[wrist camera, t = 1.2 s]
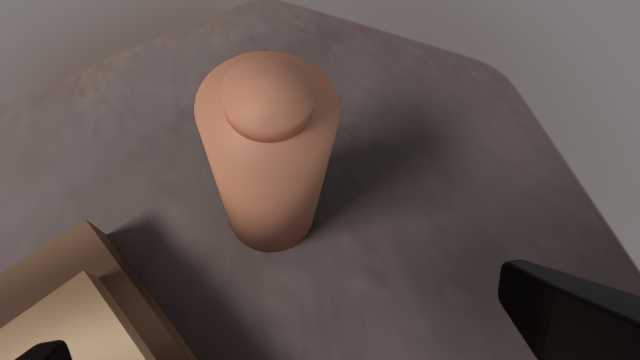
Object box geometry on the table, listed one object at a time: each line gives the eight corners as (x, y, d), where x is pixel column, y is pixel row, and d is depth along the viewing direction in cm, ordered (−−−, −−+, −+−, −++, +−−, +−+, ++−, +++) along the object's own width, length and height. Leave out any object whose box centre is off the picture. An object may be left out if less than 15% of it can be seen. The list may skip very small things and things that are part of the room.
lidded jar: (331, 214, 23) (374, 100, 13) (266, 271, 21) (256, 188, 11) (276, 158, 24) (277, 15, 14) (210, 206, 23) (157, 80, 12)
